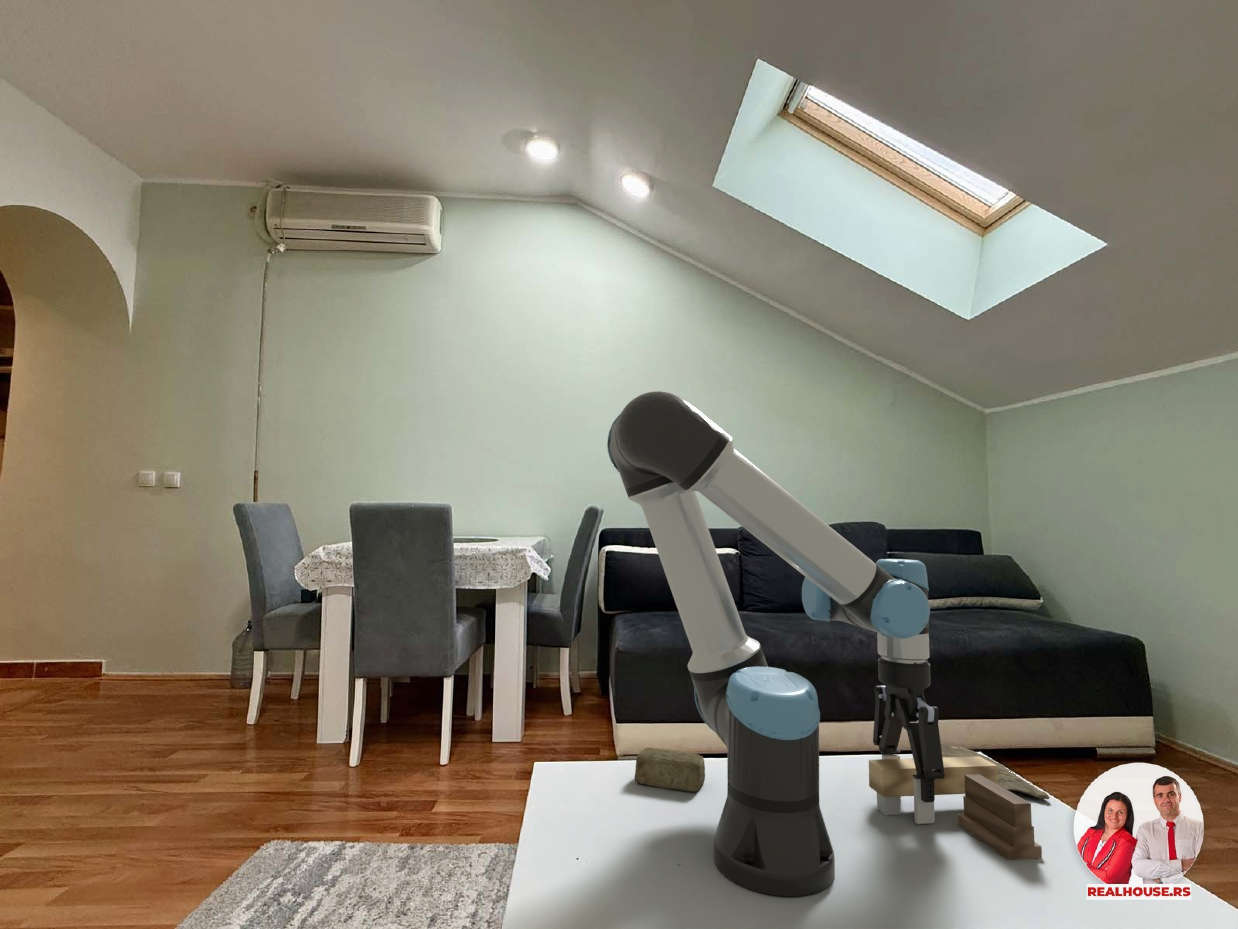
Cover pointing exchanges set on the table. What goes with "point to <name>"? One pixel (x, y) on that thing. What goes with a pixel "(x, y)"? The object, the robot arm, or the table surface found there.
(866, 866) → the table surface
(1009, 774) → the stone tool
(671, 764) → the stone block
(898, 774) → the brass bar
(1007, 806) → the stepped block
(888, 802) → the gray blocks
